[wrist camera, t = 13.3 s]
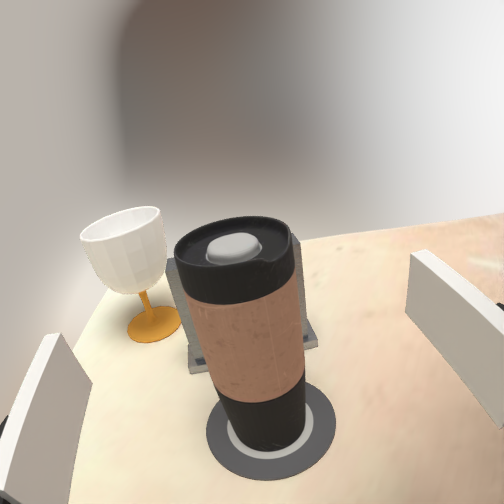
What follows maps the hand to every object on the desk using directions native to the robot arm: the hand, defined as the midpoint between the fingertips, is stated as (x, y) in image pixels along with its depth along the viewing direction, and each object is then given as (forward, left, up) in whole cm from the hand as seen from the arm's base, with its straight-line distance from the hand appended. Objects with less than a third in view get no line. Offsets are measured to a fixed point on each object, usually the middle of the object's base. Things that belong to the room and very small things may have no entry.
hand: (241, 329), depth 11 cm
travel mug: (+8, -5, -21) cm, 23 cm away
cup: (+34, -4, -21) cm, 41 cm away
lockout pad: (+8, -5, -21) cm, 23 cm away
